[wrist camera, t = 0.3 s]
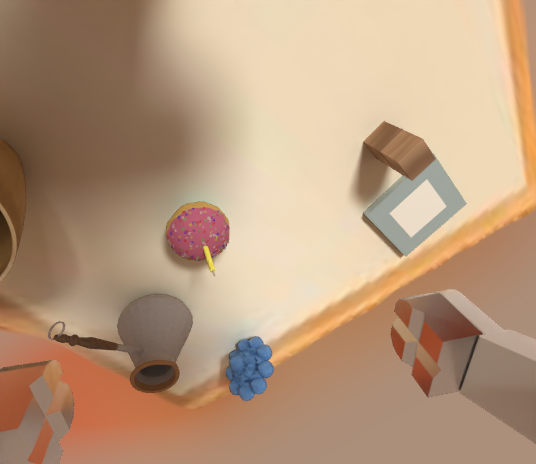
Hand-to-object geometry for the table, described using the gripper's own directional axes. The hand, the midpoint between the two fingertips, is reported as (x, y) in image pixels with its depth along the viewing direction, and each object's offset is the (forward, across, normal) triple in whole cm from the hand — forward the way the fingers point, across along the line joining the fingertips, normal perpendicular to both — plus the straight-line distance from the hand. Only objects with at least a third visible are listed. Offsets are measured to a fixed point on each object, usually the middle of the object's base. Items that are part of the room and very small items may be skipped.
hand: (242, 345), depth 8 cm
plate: (+43, -35, +19) cm, 58 cm away
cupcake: (+41, +2, +15) cm, 44 cm away
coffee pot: (+41, +13, +28) cm, 51 cm away
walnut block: (+41, -27, +6) cm, 50 cm away
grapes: (+43, -2, +43) cm, 61 cm away
